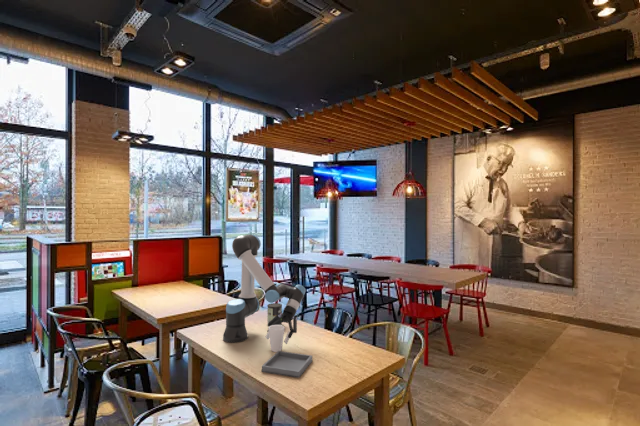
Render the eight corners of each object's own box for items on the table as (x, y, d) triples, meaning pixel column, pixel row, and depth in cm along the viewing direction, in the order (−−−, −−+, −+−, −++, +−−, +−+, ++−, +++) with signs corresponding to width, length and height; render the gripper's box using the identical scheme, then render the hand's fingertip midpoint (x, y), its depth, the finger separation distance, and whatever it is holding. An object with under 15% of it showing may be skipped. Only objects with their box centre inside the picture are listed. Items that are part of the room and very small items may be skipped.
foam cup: (270, 353, 197) (270, 330, 196) (266, 348, 205) (266, 325, 205) (286, 351, 200) (286, 328, 200) (281, 345, 209) (281, 323, 209)
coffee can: (283, 323, 251) (283, 303, 251) (279, 327, 241) (279, 307, 241) (270, 322, 253) (270, 302, 253) (265, 326, 243) (265, 306, 243)
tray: (261, 371, 174) (261, 365, 174) (278, 356, 194) (278, 350, 194) (298, 378, 168) (298, 371, 168) (312, 361, 187) (312, 355, 187)
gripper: (310, 314, 210) (296, 347, 197) (278, 308, 223) (262, 339, 210) (305, 308, 205) (290, 341, 193) (272, 302, 218) (256, 333, 206)
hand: (275, 340), depth 201 cm, fingers open, 13 cm apart
